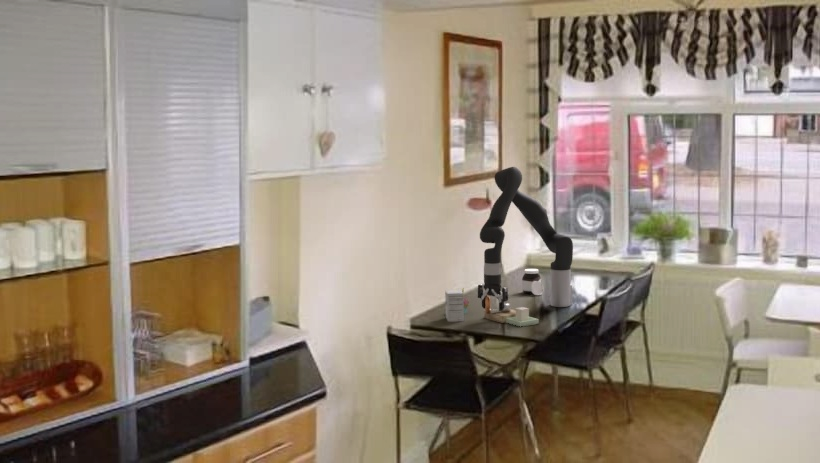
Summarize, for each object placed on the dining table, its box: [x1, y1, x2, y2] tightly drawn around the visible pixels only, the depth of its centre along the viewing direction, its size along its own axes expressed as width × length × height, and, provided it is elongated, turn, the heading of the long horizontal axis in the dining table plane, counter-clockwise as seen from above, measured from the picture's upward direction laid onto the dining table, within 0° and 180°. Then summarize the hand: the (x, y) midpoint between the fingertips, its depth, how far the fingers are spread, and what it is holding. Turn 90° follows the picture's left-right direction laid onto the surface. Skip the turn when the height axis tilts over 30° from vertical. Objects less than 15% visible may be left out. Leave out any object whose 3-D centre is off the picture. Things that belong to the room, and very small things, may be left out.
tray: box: [505, 316, 540, 328], centre depth 423 cm, size 10×10×2 cm
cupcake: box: [461, 287, 470, 315], centre depth 444 cm, size 9×8×12 cm
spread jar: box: [521, 268, 545, 296], centre depth 485 cm, size 12×11×12 cm
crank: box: [484, 296, 512, 314], centre depth 430 cm, size 13×5×7 cm, turn 119°
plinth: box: [483, 307, 516, 324], centre depth 433 cm, size 13×13×3 cm
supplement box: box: [444, 289, 465, 323], centre depth 432 cm, size 7×7×13 cm
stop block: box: [515, 306, 530, 322], centre depth 423 cm, size 4×4×6 cm
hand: (492, 309), depth 426 cm, fingers open, 8 cm apart
